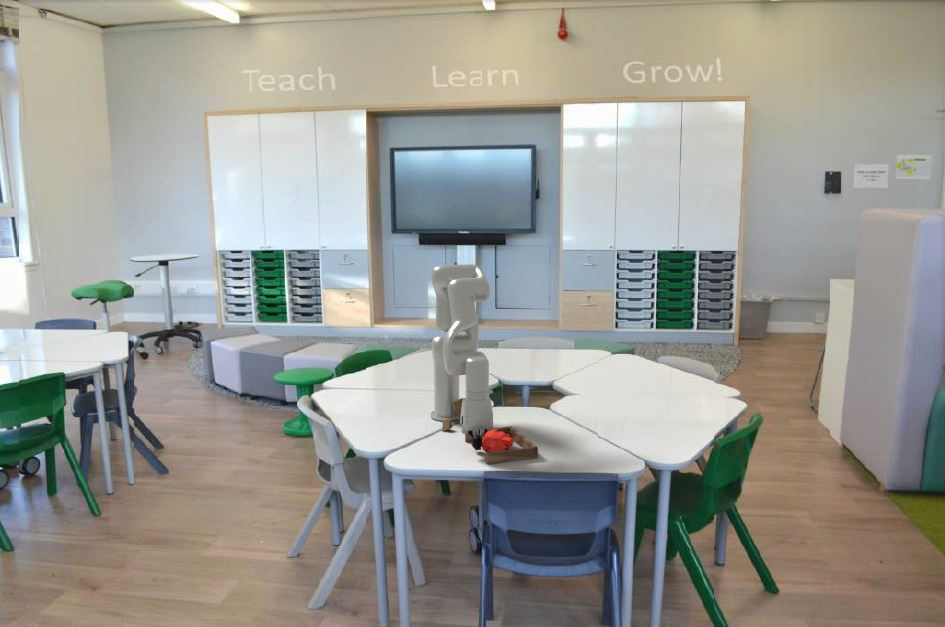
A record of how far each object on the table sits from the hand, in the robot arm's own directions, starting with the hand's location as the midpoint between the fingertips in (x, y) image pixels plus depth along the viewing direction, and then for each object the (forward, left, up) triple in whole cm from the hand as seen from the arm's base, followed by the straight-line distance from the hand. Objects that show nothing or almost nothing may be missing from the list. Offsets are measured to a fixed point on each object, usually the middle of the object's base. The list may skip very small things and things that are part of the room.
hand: (477, 448), depth 228 cm
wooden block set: (-28, +4, -2) cm, 28 cm away
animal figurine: (0, +7, -2) cm, 7 cm away
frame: (0, +8, -1) cm, 8 cm away
